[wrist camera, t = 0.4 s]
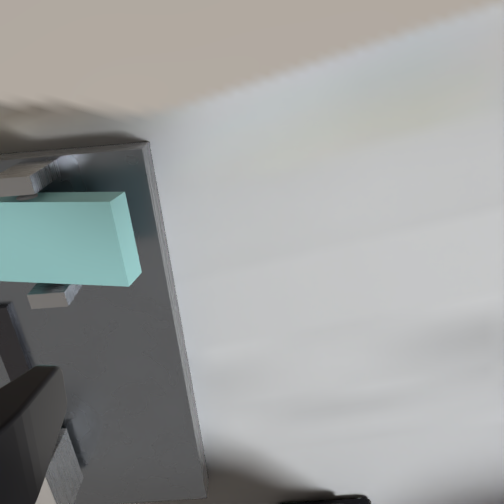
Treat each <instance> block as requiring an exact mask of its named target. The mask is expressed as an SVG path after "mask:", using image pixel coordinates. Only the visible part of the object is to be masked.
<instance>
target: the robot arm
mask: <svg viewBox="0 0 504 504" xmlns="http://www.w3.org/2000/svg"><path fill="white" fill-rule="evenodd" d="M66 409H67V397H66V390H65V384H64V377H63V372H62V369H61V368H60V367H59V366H56V365H37V366H35V367H33V368H31V369H30V370H28V371H26V372H25V373H23V374H22V375H20V376H19V377H17V378H15V379H14V380H12V381H11V382H9V383H7V384H6V385H4V386H3V387H1V388H0V504H35V503H36V501H37V498H38V496H39V493H40V490H41V487H42V484H43V482H44V479H45V475H46V472H47V469H48V466H49V463H50V460H51V457H52V454H53V451H54V448H55V445H56V442H57V439H58V436H59V432H60V429H61V426H62V423H63V420H64V417H65V414H66ZM282 504H371V501H370V500H369V499H366V498H362V499H346V500H330V501H314V502H297V503H282Z"/></svg>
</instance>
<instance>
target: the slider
mask: <svg viewBox="0 0 504 504" xmlns="http://www.w3.org/2000/svg"><path fill="white" fill-rule="evenodd" d="M82 480H83V474H82V472H81V469H80V466H79V463H78V460H77V457H76V454H75V451H74V449H73V446H72V443H71V440H70V437H69V434H68V431H67V428H62V429H60V432H59V436H58V439H57V442H56V445H55V448H54V451H53V454H52V457H51V460H50V463H49V466H48V469H47V472H46V475H45V479H44V482H43V484H42V487H41V490H40V493H39V496H38V498H37V501H36V503H35V504H74V501H75V499H76V496H77V493H78V491H79V488H80V485H81V483H82Z"/></svg>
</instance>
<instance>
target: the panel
mask: <svg viewBox="0 0 504 504" xmlns="http://www.w3.org/2000/svg"><path fill="white" fill-rule="evenodd" d="M41 192H125V194H126V199H127V204H128V209H129V213H130V218H131V223H132V228H133V232H134V237H135V242H136V247H137V252H138V256H139V261H140V266H141V271H142V273H141V274H140V275H139V276H138V277H137V278H136V280H135V281H134V282H133V283H132V284H131V285H130V286H129V287H126V286H103V285H79V284H56V283H32V282H9V281H0V388H1V387H3V386H4V385H6V384H7V383H9V382H11V381H12V380H14V379H15V378H17V377H19V376H20V375H22V374H23V373H25V372H26V371H28V370H30V369H31V368H33V367H35V366H37V365H56V366H59V367H60V368H61V369H62V372H63V377H64V384H65V390H66V397H67V409H66V414H65V417H64V420H63V423H62V426H61V429H62V428H67V431H68V434H69V437H70V440H71V443H72V446H73V449H74V451H75V454H76V457H77V460H78V463H79V466H80V469H81V472H82V474H83V480H82V483H81V485H80V488H79V491H78V493H77V496H76V499H75V501H74V504H123V503H139V502H155V501H171V500H187V499H203V498H207V488H208V472H207V466H206V461H205V455H204V449H203V444H202V438H201V432H200V427H199V421H198V415H197V410H196V404H195V398H194V393H193V387H192V381H191V376H190V370H189V364H188V359H187V353H186V347H185V342H184V336H183V330H182V325H181V319H180V314H179V308H178V302H177V297H176V291H175V285H174V280H173V274H172V268H171V263H170V257H169V251H168V246H167V240H166V234H165V229H164V223H163V217H162V212H161V206H160V200H159V195H158V189H157V183H156V178H155V172H154V166H153V161H152V155H151V149H150V144H149V142H139V143H128V144H116V145H104V146H92V147H80V148H68V149H56V150H44V151H32V152H20V153H8V154H0V197H7V196H19V195H32V194H36V193H41Z"/></svg>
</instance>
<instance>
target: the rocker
mask: <svg viewBox="0 0 504 504" xmlns="http://www.w3.org/2000/svg"><path fill="white" fill-rule="evenodd" d="M141 273H142V271H141V266H140V261H139V256H138V252H137V247H136V242H135V237H134V232H133V228H132V223H131V218H130V213H129V209H128V204H127V199H126V194H125V192H41V193H36V194H32V195H19V196H7V197H0V281H9V282H32V283H56V284H79V285H103V286H126V287H129V286H130V285H131V284H132V283H133V282H134V281H135V280H136V278H137V277H138V276H139V275H140V274H141Z"/></svg>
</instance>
